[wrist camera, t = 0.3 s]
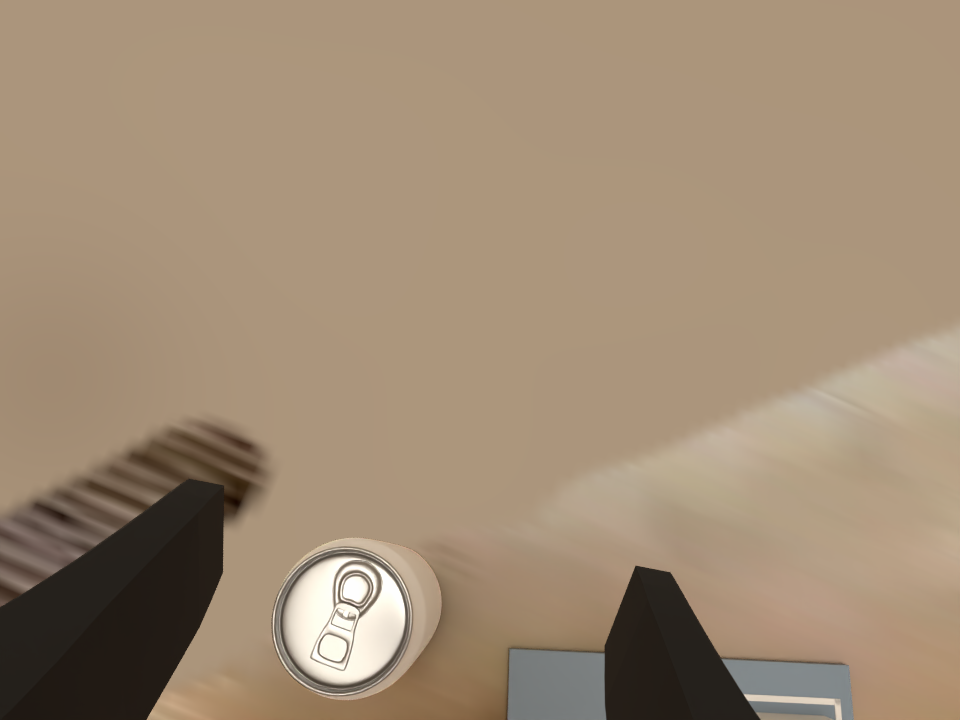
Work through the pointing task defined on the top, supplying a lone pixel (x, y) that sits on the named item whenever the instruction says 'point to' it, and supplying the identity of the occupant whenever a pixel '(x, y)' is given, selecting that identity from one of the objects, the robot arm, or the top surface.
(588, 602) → the top surface
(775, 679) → the board
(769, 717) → the base block
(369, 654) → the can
